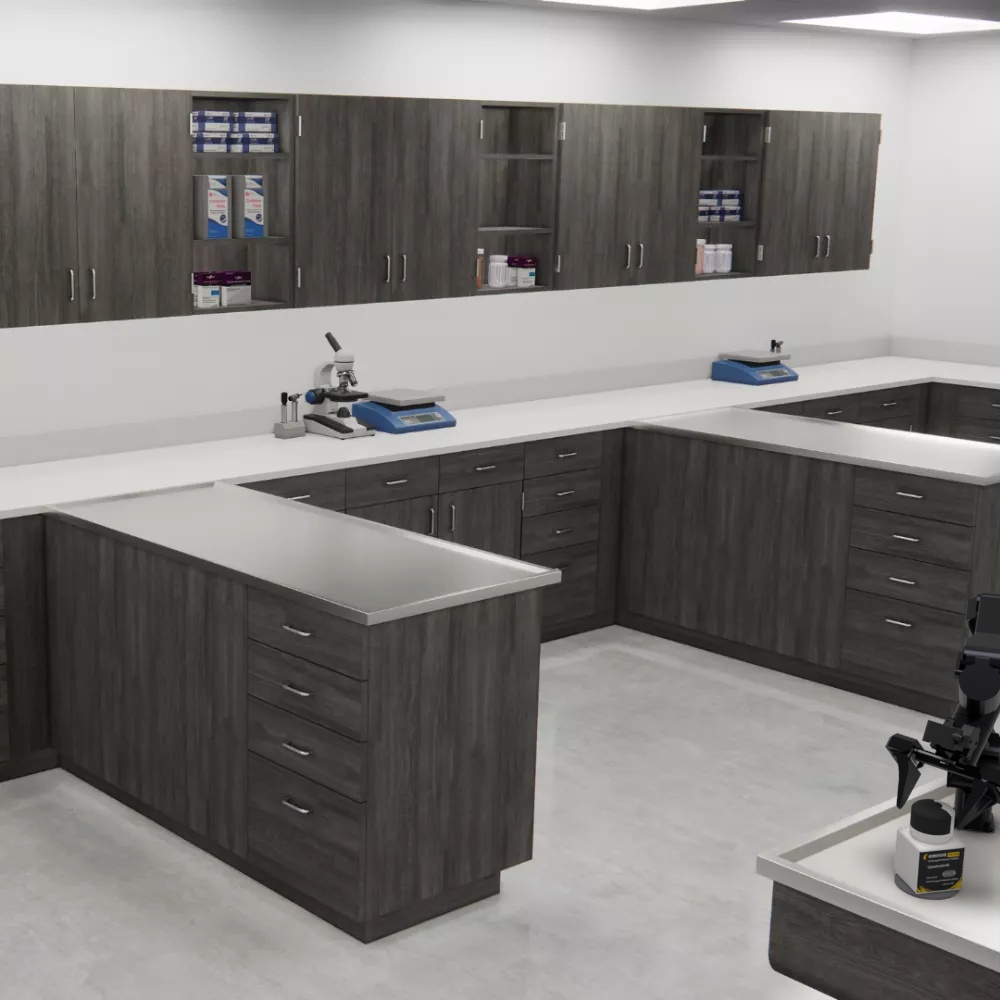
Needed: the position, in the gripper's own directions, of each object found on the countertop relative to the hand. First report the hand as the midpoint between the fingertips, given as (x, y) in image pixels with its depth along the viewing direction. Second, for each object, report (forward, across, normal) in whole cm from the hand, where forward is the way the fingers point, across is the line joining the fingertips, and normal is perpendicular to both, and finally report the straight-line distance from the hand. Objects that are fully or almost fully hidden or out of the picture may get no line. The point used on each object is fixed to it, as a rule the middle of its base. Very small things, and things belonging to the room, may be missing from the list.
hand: (927, 818), depth 206 cm
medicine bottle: (+6, 0, +9) cm, 11 cm away
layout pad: (+7, 0, +9) cm, 11 cm away
